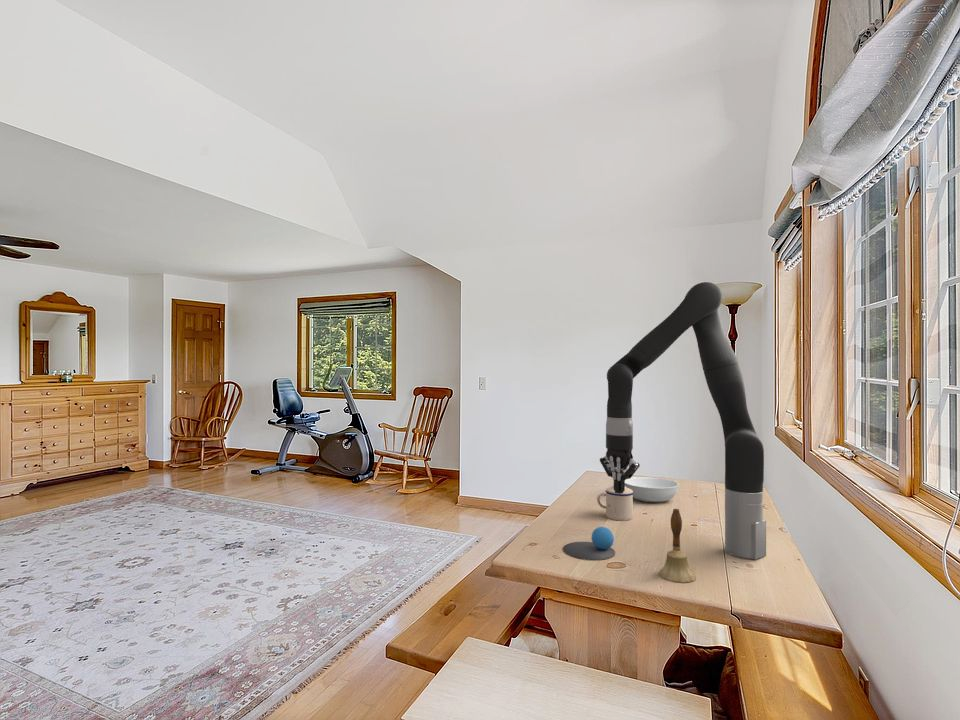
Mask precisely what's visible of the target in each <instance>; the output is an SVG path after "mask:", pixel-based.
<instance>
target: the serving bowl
mask: <svg viewBox="0 0 960 720" xmlns="http://www.w3.org/2000/svg"><path fill="white" fill-rule="evenodd" d="M625 487H627V488H629V489H631V490H632V491H633V499H634V500H639V501H640V500H642V501H641V502H644V501H647V502H646V503H653V502H655V503H661V502H665V501H666V502H667V501H669V500H672V499H673V498H674V497H675V496H676V495H677V493H678V491H679V487H680V484H679V483H678V482H677V481H674V480H672V479H671V480H670V479H666V478H660V477H649V476H635V477H633V476H632V477H631V478H630V479H626V480H625Z"/></svg>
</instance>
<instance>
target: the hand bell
mask: <svg viewBox="0 0 960 720" xmlns="http://www.w3.org/2000/svg"><path fill="white" fill-rule="evenodd" d="M682 529H683V520H682V516H681V513H680V509H679V508H673V509H672V513H671V516H670V530H671V532H672V549H671V550H669V551H667V553H666V559H665V563H664V565H663V566H662V568H660V570H659V571H658V575H659V577H660V578H662V579H664V580H666V581H670V582H672V583H682V584H685V583H686V584H687V583H692V582H694V581H695V580H696V575H695V573H693V571H692V570H691V568H690V566H689V562H688V556H687V553H685V552H683V551H682V549H681V539H680V537H681V531H682Z"/></svg>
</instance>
